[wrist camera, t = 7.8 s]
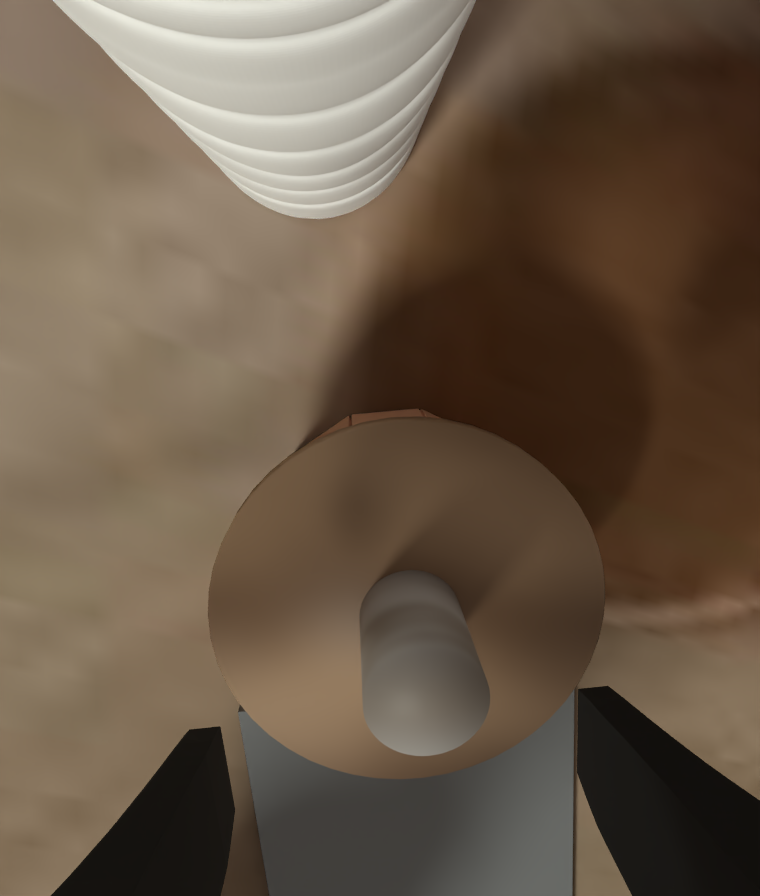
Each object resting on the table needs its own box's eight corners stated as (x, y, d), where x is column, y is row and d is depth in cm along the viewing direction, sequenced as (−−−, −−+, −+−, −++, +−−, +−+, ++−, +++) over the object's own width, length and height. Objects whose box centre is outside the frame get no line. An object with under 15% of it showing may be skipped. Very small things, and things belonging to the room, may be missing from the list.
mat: (567, 915, 26) (572, 927, 26) (281, 949, 26) (280, 961, 25) (569, 668, 23) (574, 676, 22) (240, 703, 22) (238, 712, 22)
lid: (593, 738, 18) (664, 866, 14) (245, 780, 18) (215, 922, 14) (596, 396, 15) (685, 432, 11) (181, 438, 15) (119, 491, 11)
